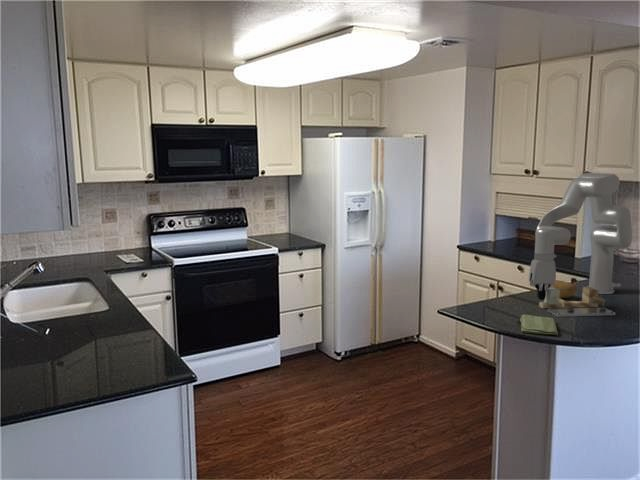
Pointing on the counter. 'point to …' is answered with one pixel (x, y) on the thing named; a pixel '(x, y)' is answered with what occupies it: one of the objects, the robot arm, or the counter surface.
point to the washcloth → (538, 325)
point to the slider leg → (553, 297)
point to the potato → (564, 288)
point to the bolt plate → (581, 312)
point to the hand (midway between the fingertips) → (541, 299)
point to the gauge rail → (588, 300)
